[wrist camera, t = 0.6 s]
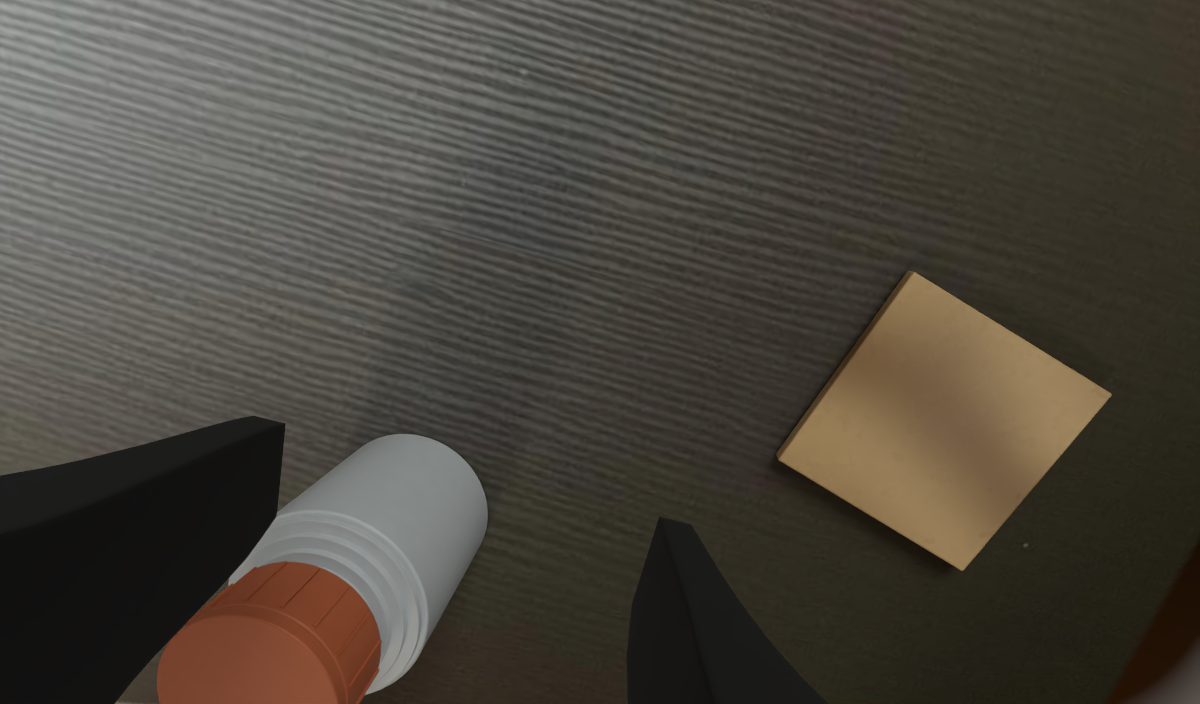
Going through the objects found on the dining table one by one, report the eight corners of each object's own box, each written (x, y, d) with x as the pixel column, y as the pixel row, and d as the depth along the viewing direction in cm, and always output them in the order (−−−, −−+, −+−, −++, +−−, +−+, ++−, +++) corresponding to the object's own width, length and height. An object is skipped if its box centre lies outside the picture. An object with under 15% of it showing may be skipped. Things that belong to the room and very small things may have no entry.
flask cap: (339, 737, 18) (291, 814, 16) (197, 654, 18) (128, 720, 16) (411, 616, 17) (372, 681, 15) (261, 528, 17) (197, 578, 15)
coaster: (955, 563, 24) (963, 572, 23) (775, 453, 23) (777, 460, 23) (1101, 389, 22) (1113, 394, 21) (907, 269, 22) (914, 271, 21)
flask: (443, 605, 26) (316, 831, 17) (312, 527, 26) (107, 711, 16) (516, 486, 25) (422, 659, 15) (377, 403, 24) (196, 526, 15)
